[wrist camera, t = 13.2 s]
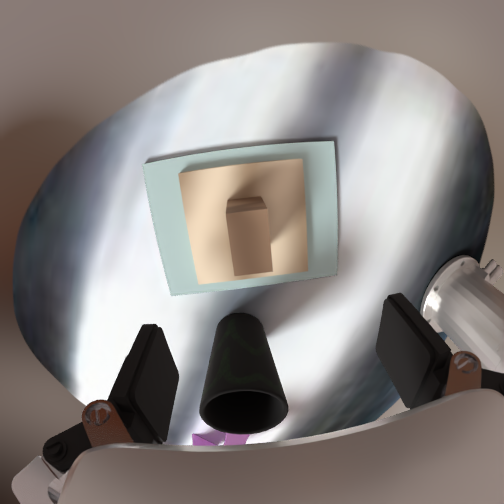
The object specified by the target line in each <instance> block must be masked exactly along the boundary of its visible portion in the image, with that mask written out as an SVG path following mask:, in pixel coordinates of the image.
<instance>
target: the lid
mask: <svg viewBox="0 0 504 504" xmlns="http://www.w3.org/2000/svg"><path fill="white" fill-rule="evenodd" d="M178 176H179V183H180V189H181V195H182V201H183V207H184V213H185V219H186V224H187V230H188V235H189V240H190V245H191V250H192V256H193V260H194V265H195V270H196V275H197V280H198V284H199V285H200V284H209V283H218V282H227V281H235V280H244V279H252V278H260V277H268V276H276V275H284V274H291V273H299V272H306V271H308V250H307V223H306V203H305V187H304V172H303V159H286V160H274V161H263V162H253V163H244V164H235V165H227V166H220V167H213V168H206V169H199V170H193V171H186V172H180V173H178Z"/></svg>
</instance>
